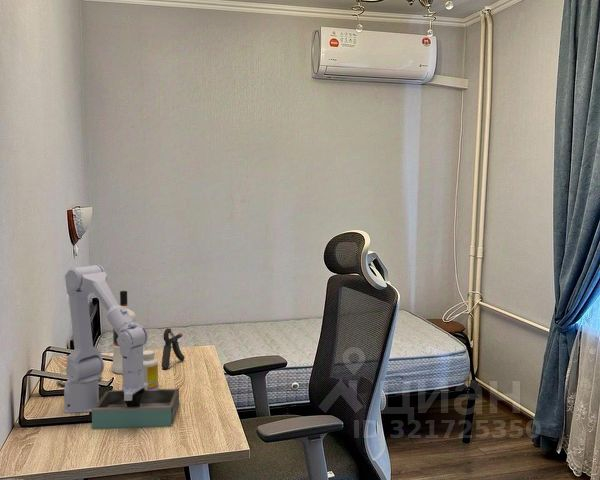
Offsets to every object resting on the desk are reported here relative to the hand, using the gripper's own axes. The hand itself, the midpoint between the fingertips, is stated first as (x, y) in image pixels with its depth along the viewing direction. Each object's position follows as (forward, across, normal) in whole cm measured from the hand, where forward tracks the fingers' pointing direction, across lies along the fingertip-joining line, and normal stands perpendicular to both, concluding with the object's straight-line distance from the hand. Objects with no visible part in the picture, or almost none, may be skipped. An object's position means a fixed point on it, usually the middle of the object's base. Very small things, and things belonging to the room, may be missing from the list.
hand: (134, 415), depth 153 cm
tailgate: (+2, -3, 0) cm, 4 cm away
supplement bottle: (+3, +27, +1) cm, 27 cm away
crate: (+2, +6, 0) cm, 6 cm away
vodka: (+3, +47, +13) cm, 49 cm away
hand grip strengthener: (+3, +52, -4) cm, 52 cm away
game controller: (+3, +36, +26) cm, 45 cm away
